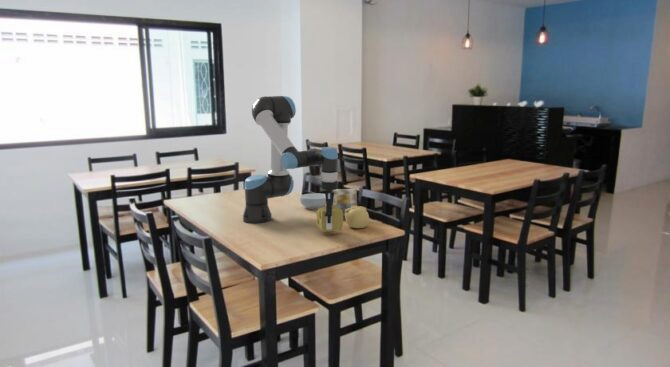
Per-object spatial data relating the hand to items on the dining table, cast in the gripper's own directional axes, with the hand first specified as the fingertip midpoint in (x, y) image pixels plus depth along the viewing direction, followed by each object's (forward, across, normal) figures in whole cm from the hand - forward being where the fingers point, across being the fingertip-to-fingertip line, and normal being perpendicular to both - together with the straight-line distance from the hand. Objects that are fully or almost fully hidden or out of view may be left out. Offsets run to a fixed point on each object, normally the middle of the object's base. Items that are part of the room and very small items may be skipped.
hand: (329, 225), depth 220 cm
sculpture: (+4, +12, -13) cm, 18 cm away
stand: (+5, +28, -6) cm, 29 cm away
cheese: (+2, 0, 0) cm, 2 cm away
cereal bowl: (+5, +52, +11) cm, 53 cm away
